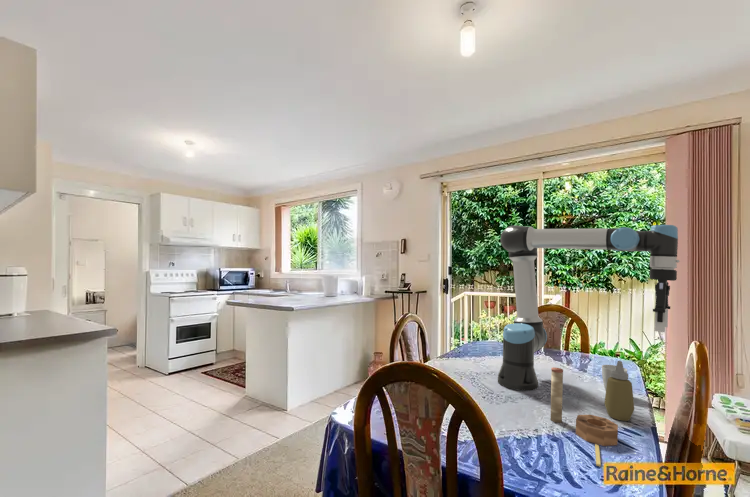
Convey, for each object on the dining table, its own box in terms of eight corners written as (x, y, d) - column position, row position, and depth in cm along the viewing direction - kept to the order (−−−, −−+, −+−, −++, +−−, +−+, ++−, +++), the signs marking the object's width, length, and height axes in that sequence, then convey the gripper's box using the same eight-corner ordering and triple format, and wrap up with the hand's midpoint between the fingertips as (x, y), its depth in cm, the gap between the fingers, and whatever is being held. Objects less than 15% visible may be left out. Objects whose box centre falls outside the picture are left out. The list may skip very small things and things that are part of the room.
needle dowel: (549, 421, 113) (550, 369, 113) (551, 417, 116) (552, 366, 116) (561, 424, 111) (562, 371, 111) (562, 420, 114) (563, 368, 114)
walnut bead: (574, 437, 103) (574, 423, 103) (578, 425, 111) (578, 411, 111) (617, 449, 97) (617, 434, 97) (617, 435, 105) (618, 421, 105)
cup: (631, 399, 133) (631, 372, 134) (606, 397, 135) (607, 369, 135) (620, 391, 141) (621, 365, 142) (597, 389, 143) (598, 363, 143)
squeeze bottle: (635, 425, 112) (636, 366, 112) (604, 418, 116) (605, 361, 116) (633, 416, 119) (634, 360, 119) (604, 410, 123) (605, 356, 123)
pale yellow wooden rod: (600, 466, 88) (600, 464, 88) (596, 465, 89) (596, 463, 89) (598, 446, 98) (598, 445, 98) (595, 445, 98) (595, 444, 98)
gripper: (675, 269, 116) (673, 335, 116) (678, 269, 135) (676, 326, 135) (646, 268, 121) (644, 331, 121) (653, 268, 140) (651, 323, 140)
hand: (661, 329), depth 128 cm, fingers open, 13 cm apart
